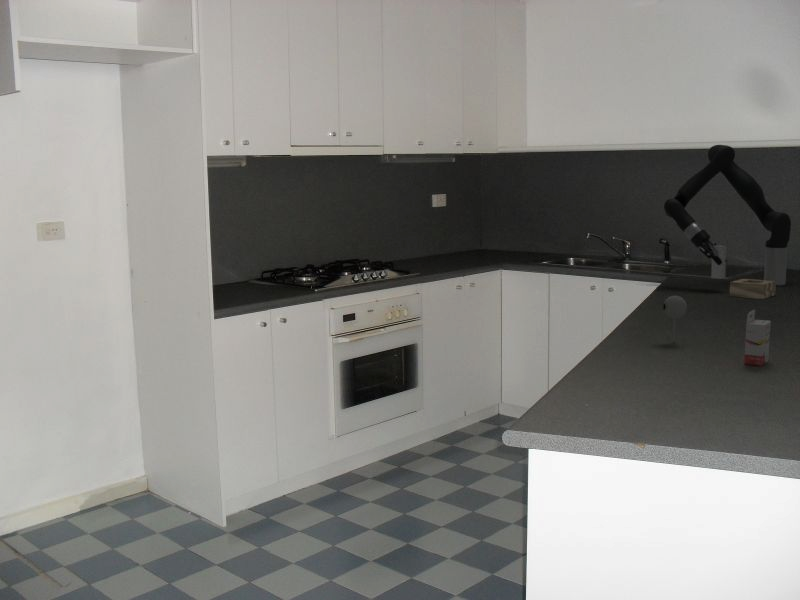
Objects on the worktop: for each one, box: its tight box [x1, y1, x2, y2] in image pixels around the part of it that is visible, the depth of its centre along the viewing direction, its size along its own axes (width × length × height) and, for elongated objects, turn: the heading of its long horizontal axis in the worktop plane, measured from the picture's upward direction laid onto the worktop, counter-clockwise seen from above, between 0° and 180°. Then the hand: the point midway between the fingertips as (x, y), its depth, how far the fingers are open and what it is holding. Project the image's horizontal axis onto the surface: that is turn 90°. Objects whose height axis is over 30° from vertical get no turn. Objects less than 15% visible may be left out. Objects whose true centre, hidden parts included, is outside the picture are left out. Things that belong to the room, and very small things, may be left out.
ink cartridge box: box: [744, 309, 772, 367], centre depth 250 cm, size 9×5×15 cm, turn 145°
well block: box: [729, 278, 777, 300], centre depth 376 cm, size 14×14×6 cm
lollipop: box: [662, 295, 688, 343], centre depth 281 cm, size 7×7×15 cm
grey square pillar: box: [710, 244, 727, 280], centre depth 386 cm, size 4×4×14 cm
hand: (722, 263), depth 385 cm, fingers closed on grey square pillar, 4 cm apart
